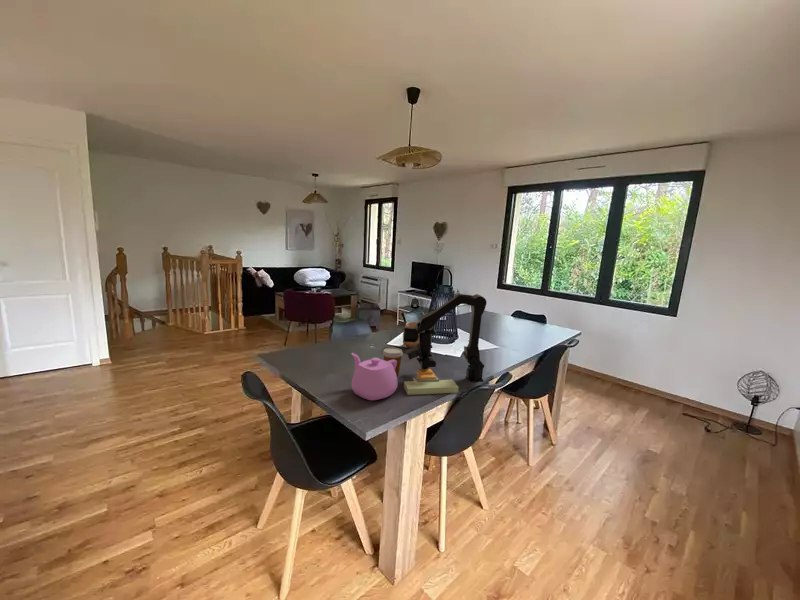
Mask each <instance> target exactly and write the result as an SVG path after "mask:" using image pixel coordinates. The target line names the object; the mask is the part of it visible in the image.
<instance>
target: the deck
mask: <svg viewBox="0 0 800 600" xmlns="http://www.w3.org/2000/svg"><path fill="white" fill-rule="evenodd" d="M412 378H413V379H412V380H407V381H406V380H404V381H403V388H404V391H405V392H406V395H412V396H413V395H434V394H457V393H459V388H460V387H459V386H458V385H457V383H456V382H455V381H454V380H453V379H440V378H438V376H436V379H419V381H417V377H412Z"/></svg>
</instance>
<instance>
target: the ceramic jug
mask: <svg viewBox="0 0 800 600" xmlns="http://www.w3.org/2000/svg"><path fill="white" fill-rule="evenodd" d="M418 323H419V321H410V322H405V326H404V327H408V328H415V326H416V325H417V324H418ZM418 343H419V334H418V340H417V341H416V342H403V341H402V344H403V345H404V346H405V347H406V348H408V349H410V348H413V347H417V344H418Z"/></svg>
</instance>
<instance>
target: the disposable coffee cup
mask: <svg viewBox="0 0 800 600" xmlns="http://www.w3.org/2000/svg"><path fill="white" fill-rule="evenodd" d="M403 355H404V352H403V350H402V349H401V348H397V347H386V348H384V349H383V351H382V356H383V360H385V361H389V360H393V359H394V360H396V361H397V365H396V368H395V372H396V376H397V377H398V376H399V375H400V369H401V364H402V362H401V361H402V357H403Z"/></svg>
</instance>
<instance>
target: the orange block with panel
mask: <svg viewBox="0 0 800 600" xmlns="http://www.w3.org/2000/svg"><path fill="white" fill-rule="evenodd" d="M436 377H437V376H436V374H435V373H434V371H433V370H432V369H431V368H428V369H421V368H418V370H416V379H417V381H419V379H436Z"/></svg>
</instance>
